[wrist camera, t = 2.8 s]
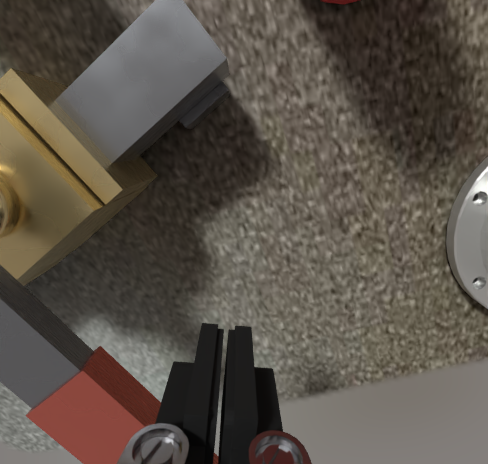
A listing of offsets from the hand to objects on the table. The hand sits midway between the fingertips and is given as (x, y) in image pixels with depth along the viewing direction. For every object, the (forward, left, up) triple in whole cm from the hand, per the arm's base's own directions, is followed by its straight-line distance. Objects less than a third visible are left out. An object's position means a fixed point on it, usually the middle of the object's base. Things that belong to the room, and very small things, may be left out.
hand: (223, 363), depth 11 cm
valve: (+4, -10, -11) cm, 15 cm away
